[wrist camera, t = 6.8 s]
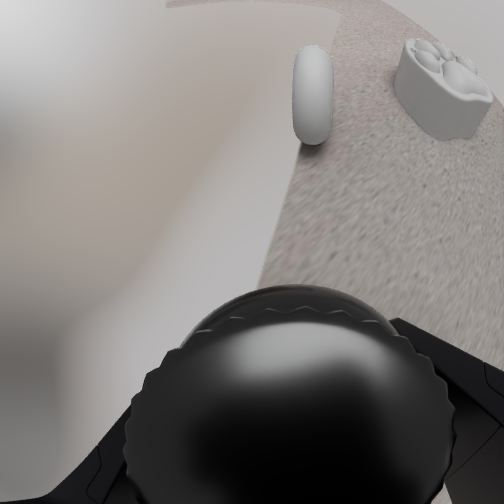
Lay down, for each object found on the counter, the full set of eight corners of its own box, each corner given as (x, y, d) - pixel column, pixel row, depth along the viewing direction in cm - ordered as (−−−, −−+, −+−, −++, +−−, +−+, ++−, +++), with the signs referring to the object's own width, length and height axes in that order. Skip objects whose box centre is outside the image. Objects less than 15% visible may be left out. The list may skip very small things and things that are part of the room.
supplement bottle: (204, 365, 15) (19, 380, 3) (301, 290, 15) (316, 133, 4) (280, 456, 12) (245, 624, 1) (379, 380, 13) (547, 426, 2)
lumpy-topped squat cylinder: (428, 142, 25) (455, 88, 17) (376, 75, 30) (386, 25, 22) (480, 138, 25) (507, 95, 17) (430, 76, 29) (444, 34, 21)
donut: (298, 99, 29) (296, 27, 19) (327, 102, 28) (333, 30, 19) (290, 164, 26) (288, 81, 16) (326, 168, 25) (339, 86, 16)
